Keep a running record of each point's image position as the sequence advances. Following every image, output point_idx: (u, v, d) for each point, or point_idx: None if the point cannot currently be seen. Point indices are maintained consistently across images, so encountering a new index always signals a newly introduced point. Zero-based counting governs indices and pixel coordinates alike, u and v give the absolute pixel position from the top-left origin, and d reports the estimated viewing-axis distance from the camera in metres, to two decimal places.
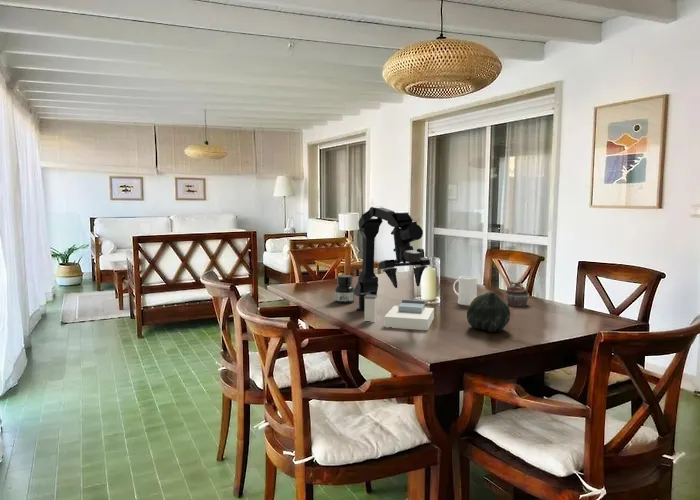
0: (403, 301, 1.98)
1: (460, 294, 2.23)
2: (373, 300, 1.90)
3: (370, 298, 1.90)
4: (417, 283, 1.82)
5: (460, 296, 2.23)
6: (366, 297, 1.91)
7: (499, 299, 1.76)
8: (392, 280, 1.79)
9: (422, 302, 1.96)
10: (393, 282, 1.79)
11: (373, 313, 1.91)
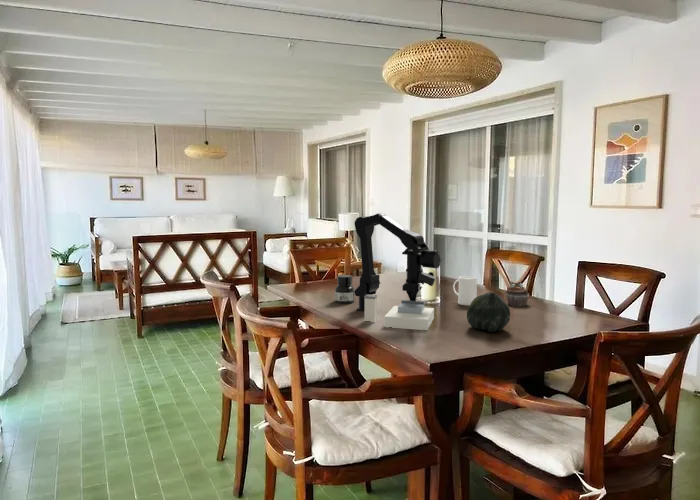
0: (402, 302, 1.97)
1: (460, 294, 2.23)
2: (373, 300, 1.90)
3: (370, 298, 1.90)
4: None
5: (460, 296, 2.23)
6: (366, 297, 1.91)
7: (499, 299, 1.76)
8: (412, 298, 1.97)
9: (422, 303, 1.95)
10: (412, 300, 1.97)
11: (373, 313, 1.91)
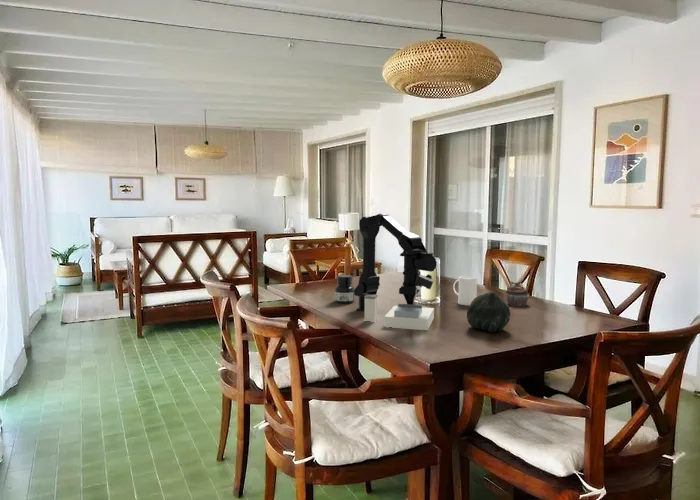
0: (399, 305, 1.91)
1: (460, 294, 2.23)
2: (373, 300, 1.90)
3: (370, 298, 1.90)
4: None
5: (460, 296, 2.23)
6: (366, 297, 1.91)
7: (499, 299, 1.76)
8: (409, 302, 1.91)
9: (419, 306, 1.89)
10: (410, 303, 1.91)
11: (373, 313, 1.91)
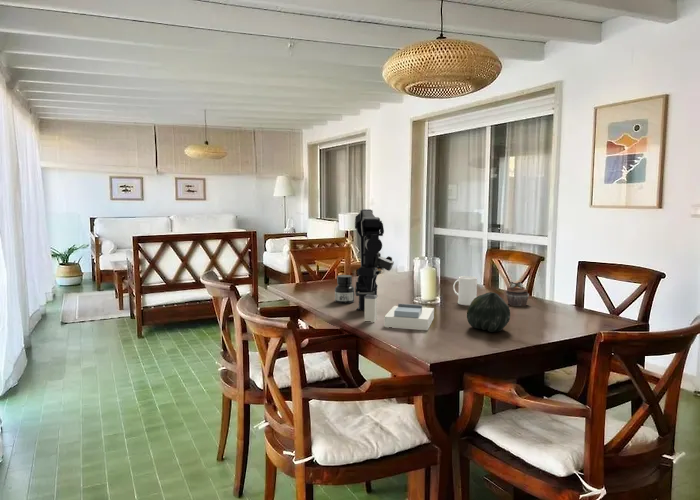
0: (399, 305, 1.91)
1: (460, 294, 2.23)
2: (373, 300, 1.90)
3: (370, 298, 1.90)
4: (372, 287, 1.94)
5: (460, 296, 2.23)
6: (366, 297, 1.91)
7: (499, 299, 1.76)
8: (368, 284, 1.89)
9: (419, 306, 1.89)
10: (368, 286, 1.89)
11: (373, 313, 1.91)
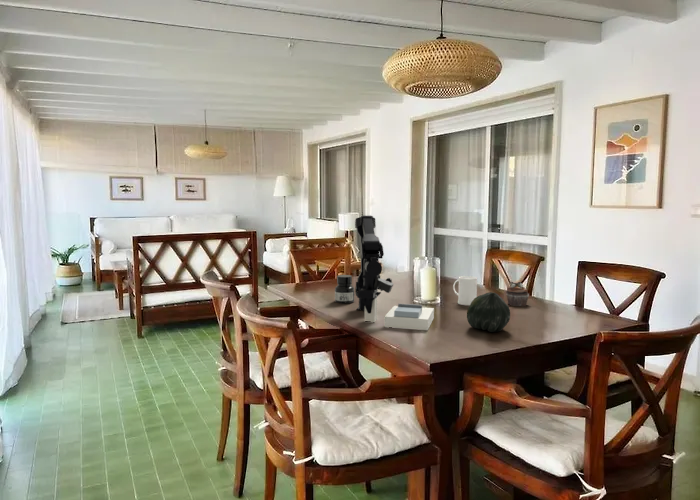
0: (399, 305, 1.91)
1: (460, 294, 2.23)
2: (373, 300, 1.90)
3: None
4: None
5: (460, 296, 2.23)
6: None
7: (499, 299, 1.76)
8: (368, 306, 1.90)
9: (419, 306, 1.89)
10: (368, 308, 1.90)
11: (373, 313, 1.91)
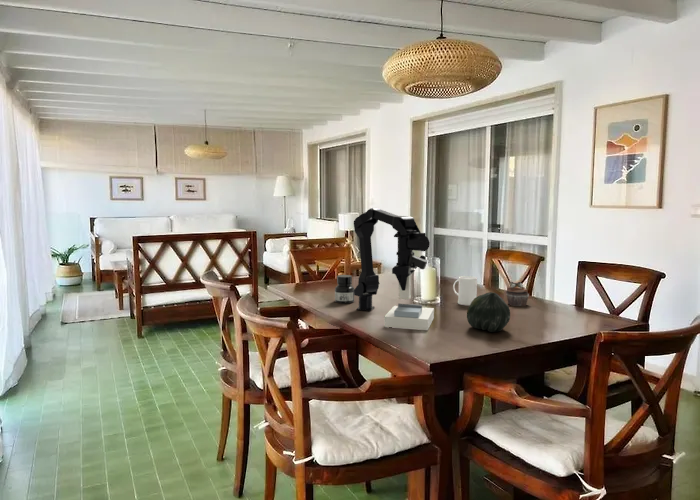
0: (399, 305, 1.91)
1: (460, 294, 2.23)
2: (407, 277, 1.90)
3: None
4: None
5: (460, 296, 2.23)
6: None
7: (499, 299, 1.76)
8: (402, 283, 1.90)
9: (419, 306, 1.89)
10: (402, 285, 1.90)
11: (407, 290, 1.91)
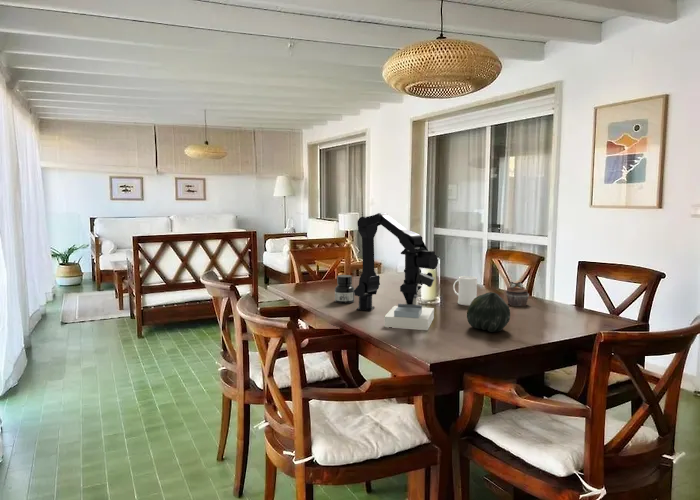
0: (399, 305, 1.90)
1: (460, 294, 2.23)
2: (414, 299, 1.92)
3: None
4: None
5: (460, 296, 2.23)
6: None
7: (499, 299, 1.76)
8: (409, 301, 1.90)
9: (419, 306, 1.88)
10: (409, 302, 1.90)
11: None
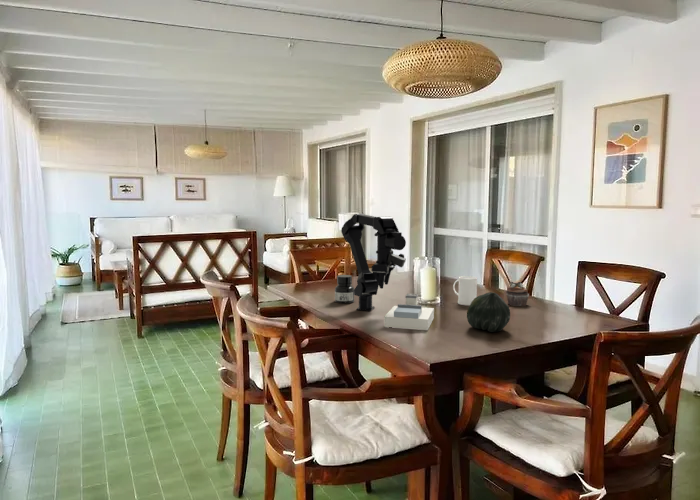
0: (399, 306, 1.90)
1: (460, 294, 2.23)
2: (414, 299, 1.92)
3: (411, 297, 1.92)
4: (386, 282, 2.05)
5: (460, 296, 2.23)
6: (407, 296, 1.92)
7: (499, 299, 1.76)
8: (380, 281, 1.95)
9: (419, 307, 1.88)
10: (380, 283, 1.95)
11: None
